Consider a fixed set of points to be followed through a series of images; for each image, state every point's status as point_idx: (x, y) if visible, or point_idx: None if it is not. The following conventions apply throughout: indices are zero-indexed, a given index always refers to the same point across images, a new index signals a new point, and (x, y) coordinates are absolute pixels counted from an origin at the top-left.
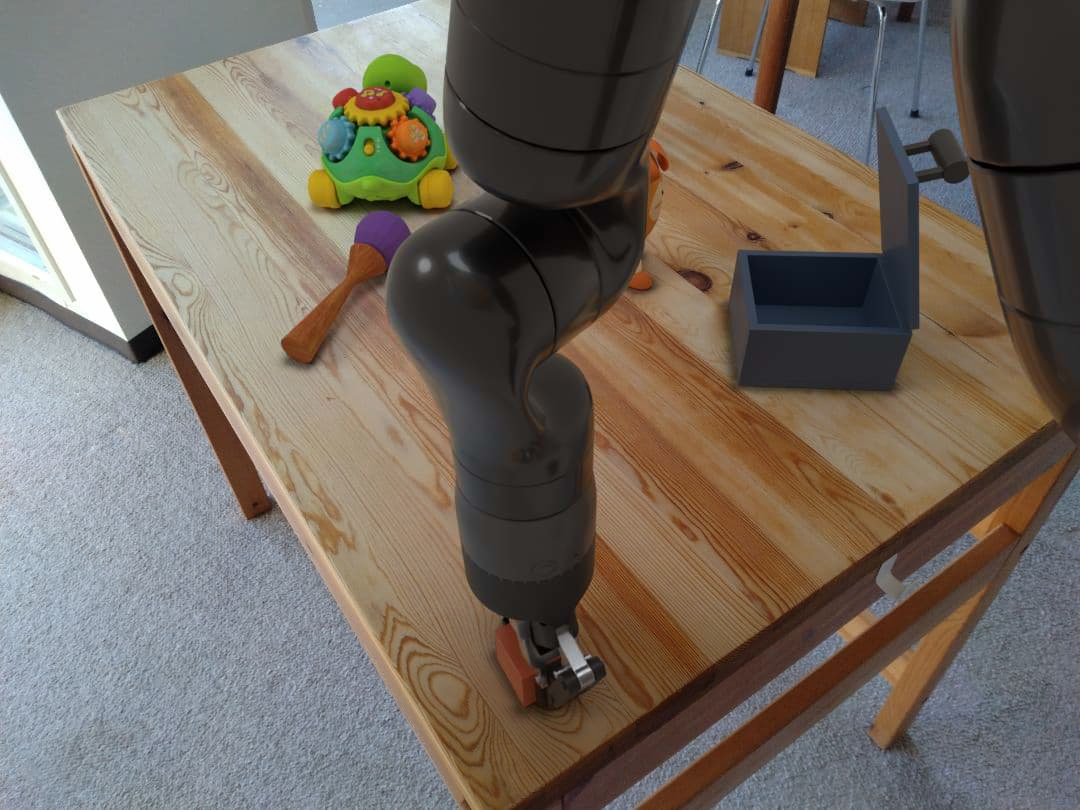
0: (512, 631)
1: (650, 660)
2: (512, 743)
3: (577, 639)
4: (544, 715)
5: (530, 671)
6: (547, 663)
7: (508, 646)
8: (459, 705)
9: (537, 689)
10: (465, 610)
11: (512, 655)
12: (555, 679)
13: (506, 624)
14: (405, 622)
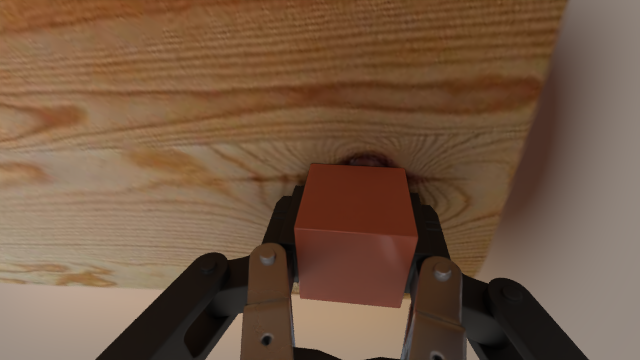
0: (315, 284)
1: (471, 30)
2: None
3: (464, 341)
4: None
5: (396, 296)
6: (403, 278)
7: (337, 298)
8: None
9: None
10: (227, 225)
11: (354, 300)
12: (467, 333)
13: (297, 281)
14: None
